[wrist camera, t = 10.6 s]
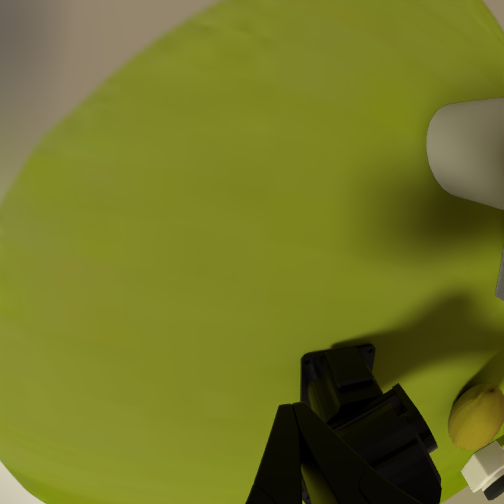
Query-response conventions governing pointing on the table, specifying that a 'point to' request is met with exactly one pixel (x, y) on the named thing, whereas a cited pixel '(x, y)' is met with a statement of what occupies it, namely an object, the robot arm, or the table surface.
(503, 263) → the gauge bench
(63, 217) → the table surface
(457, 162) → the can
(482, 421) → the lemon
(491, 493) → the medicine bottle
